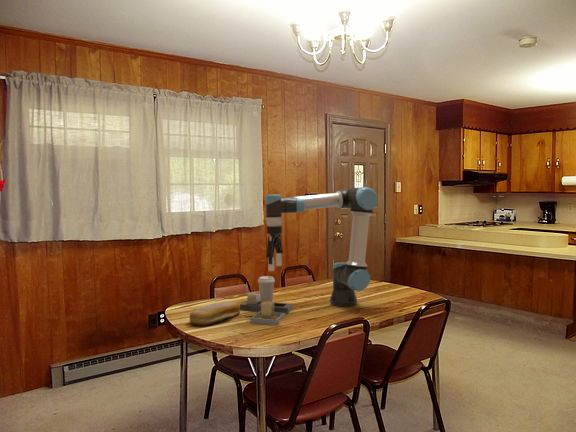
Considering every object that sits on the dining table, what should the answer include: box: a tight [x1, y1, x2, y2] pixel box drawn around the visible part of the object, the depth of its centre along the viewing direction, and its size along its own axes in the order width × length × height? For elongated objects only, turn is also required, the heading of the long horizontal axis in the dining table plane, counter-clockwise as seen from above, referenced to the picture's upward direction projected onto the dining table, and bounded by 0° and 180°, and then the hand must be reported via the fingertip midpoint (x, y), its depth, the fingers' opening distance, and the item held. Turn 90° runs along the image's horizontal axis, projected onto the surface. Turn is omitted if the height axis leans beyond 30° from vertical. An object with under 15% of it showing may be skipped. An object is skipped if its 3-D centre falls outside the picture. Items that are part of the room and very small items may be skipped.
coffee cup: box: [257, 275, 276, 302], centre depth 244 cm, size 10×10×15 cm
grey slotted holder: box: [239, 300, 293, 315], centre depth 229 cm, size 26×9×4 cm, turn 74°
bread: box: [189, 301, 241, 327], centre depth 214 cm, size 13×26×8 cm, turn 141°
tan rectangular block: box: [260, 301, 275, 320], centre depth 213 cm, size 5×5×8 cm
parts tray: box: [250, 311, 286, 326], centre depth 213 cm, size 13×13×2 cm
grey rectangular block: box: [246, 292, 260, 305], centre depth 231 cm, size 5×5×8 cm
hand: (275, 268), depth 218 cm, fingers open, 13 cm apart
